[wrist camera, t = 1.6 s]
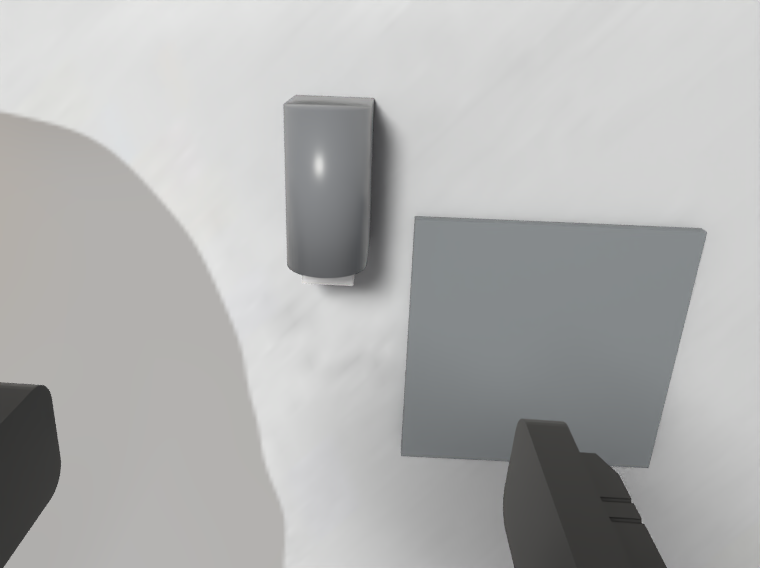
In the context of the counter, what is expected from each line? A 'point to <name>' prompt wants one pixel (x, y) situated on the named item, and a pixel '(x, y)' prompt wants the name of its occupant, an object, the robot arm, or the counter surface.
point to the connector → (328, 186)
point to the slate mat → (543, 333)
